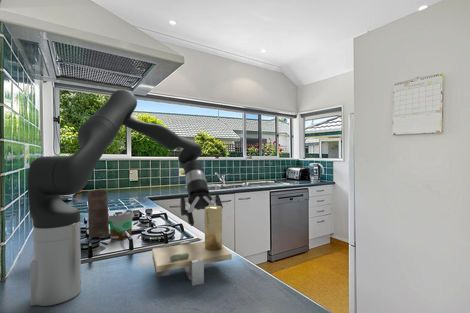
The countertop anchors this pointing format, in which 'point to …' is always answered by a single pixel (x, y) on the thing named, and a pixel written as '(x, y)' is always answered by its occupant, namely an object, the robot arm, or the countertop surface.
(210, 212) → the cylinder
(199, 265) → the board stand
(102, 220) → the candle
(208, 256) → the tilting board
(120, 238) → the food container
